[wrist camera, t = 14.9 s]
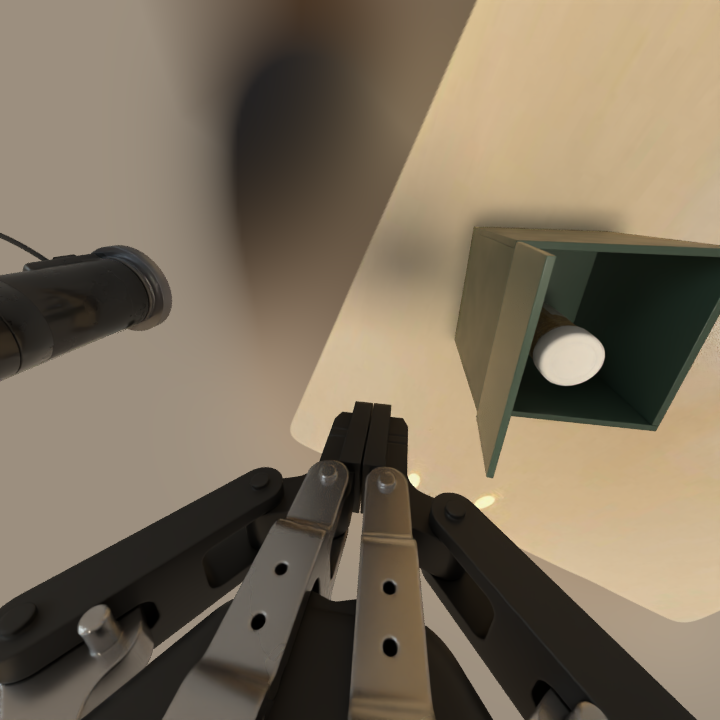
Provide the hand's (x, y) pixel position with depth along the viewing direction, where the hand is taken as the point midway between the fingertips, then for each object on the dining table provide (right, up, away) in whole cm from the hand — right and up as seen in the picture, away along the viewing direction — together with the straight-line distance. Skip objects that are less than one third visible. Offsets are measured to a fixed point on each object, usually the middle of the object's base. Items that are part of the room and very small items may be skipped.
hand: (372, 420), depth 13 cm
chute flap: (+8, +3, +6) cm, 10 cm away
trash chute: (+18, +10, +22) cm, 30 cm away
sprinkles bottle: (+18, +8, +23) cm, 30 cm away
